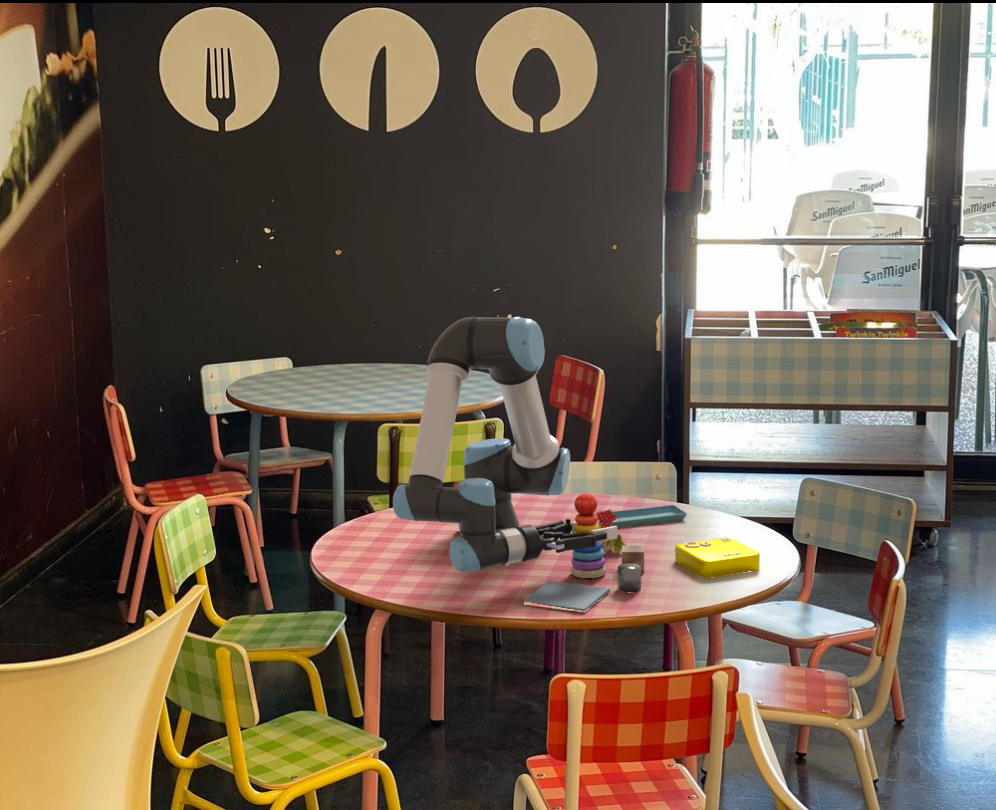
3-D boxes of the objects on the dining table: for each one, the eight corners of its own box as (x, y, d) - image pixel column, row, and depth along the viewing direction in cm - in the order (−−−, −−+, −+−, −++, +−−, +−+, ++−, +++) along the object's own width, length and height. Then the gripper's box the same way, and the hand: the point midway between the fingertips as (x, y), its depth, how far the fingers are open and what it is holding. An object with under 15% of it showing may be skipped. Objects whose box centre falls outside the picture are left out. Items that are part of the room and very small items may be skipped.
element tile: (704, 580, 295) (704, 560, 294) (671, 561, 308) (672, 541, 307) (763, 571, 300) (763, 551, 299) (728, 553, 314) (728, 534, 313)
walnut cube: (621, 573, 300) (621, 551, 299) (622, 566, 305) (622, 545, 304) (644, 573, 300) (644, 552, 299) (644, 566, 305) (644, 545, 304)
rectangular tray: (590, 532, 333) (590, 523, 333) (578, 523, 342) (578, 513, 342) (687, 522, 340) (687, 513, 339) (674, 513, 349) (674, 504, 348)
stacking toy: (606, 568, 303) (605, 489, 300) (605, 580, 296) (604, 498, 292) (571, 568, 304) (570, 489, 301) (570, 579, 296) (568, 498, 293)
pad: (523, 605, 281) (523, 600, 281) (550, 584, 293) (550, 580, 293) (584, 613, 275) (584, 609, 275) (609, 592, 287) (609, 588, 287)
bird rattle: (607, 567, 311) (635, 545, 315) (591, 528, 307) (619, 507, 311) (591, 560, 317) (618, 539, 320) (575, 522, 312) (603, 501, 316)
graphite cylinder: (614, 591, 288) (614, 569, 287) (622, 584, 293) (622, 562, 292) (636, 594, 286) (636, 571, 285) (644, 587, 290) (644, 565, 289)
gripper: (496, 549, 299) (582, 533, 310) (542, 573, 282) (632, 555, 292) (495, 517, 297) (582, 502, 308) (541, 539, 280) (631, 522, 291)
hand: (606, 527), depth 300 cm, fingers open, 7 cm apart
